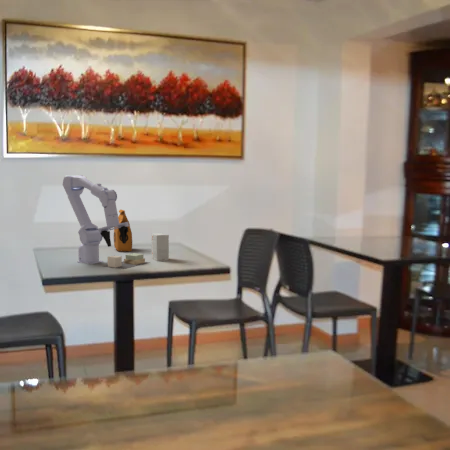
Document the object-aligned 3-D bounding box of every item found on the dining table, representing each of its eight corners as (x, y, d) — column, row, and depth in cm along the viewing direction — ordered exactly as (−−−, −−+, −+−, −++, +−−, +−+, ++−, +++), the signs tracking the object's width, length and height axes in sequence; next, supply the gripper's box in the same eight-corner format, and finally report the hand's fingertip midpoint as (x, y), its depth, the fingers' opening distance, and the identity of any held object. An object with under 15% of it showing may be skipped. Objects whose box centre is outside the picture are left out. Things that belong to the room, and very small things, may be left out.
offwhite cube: (107, 266, 269) (107, 256, 269) (114, 265, 273) (114, 255, 273) (115, 267, 267) (115, 257, 267) (121, 266, 271) (121, 256, 270)
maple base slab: (124, 263, 278) (124, 259, 278) (133, 261, 284) (133, 257, 284) (135, 264, 275) (135, 260, 275) (144, 262, 281) (144, 258, 281)
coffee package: (114, 252, 314) (114, 211, 312) (113, 248, 326) (112, 209, 324) (133, 251, 316) (133, 211, 314) (131, 248, 328) (131, 209, 326)
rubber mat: (102, 266, 270) (102, 266, 270) (129, 260, 287) (129, 260, 287) (124, 269, 264) (124, 269, 264) (151, 263, 281) (151, 262, 281)
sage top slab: (125, 259, 278) (125, 254, 278) (133, 257, 283) (133, 253, 283) (135, 260, 275) (135, 256, 275) (143, 258, 280) (143, 254, 280)
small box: (168, 261, 288) (168, 234, 287) (156, 261, 286) (156, 235, 284) (163, 258, 296) (163, 232, 294) (151, 259, 293) (151, 233, 291)
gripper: (93, 218, 268) (98, 248, 267) (121, 212, 264) (127, 242, 263) (101, 219, 274) (106, 247, 274) (128, 212, 270) (133, 241, 270)
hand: (116, 244), depth 269 cm, fingers open, 7 cm apart
